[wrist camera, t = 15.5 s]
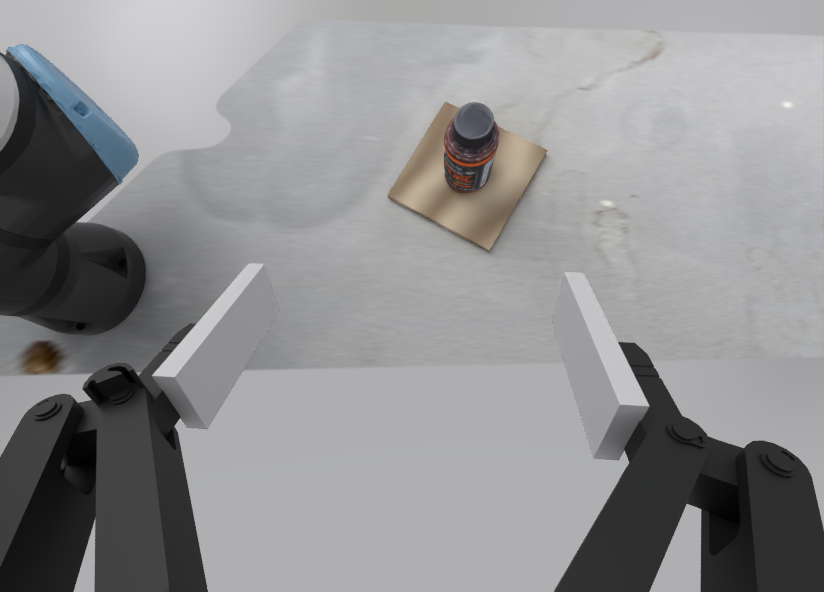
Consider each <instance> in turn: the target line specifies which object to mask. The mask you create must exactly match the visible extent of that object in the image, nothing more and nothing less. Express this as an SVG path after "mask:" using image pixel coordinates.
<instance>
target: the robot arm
mask: <svg viewBox="0 0 824 592" xmlns="http://www.w3.org/2000/svg"><path fill="white" fill-rule="evenodd" d="M6 52H7V53H6V55H4V54H2V53H0V315H5V316H17V317H20V318H23V319H25V320H28V321H31V322H33V323H36V324H38V325H41V326H44V327H46V328H49V329H52V330H54V331H57V332H61V333H66V334H80V335H92V334H98V333H101V332H104V331H107V330H109V329H111V328H113V327H115V326H116V325H118V324H119V323H120V322H121V321H123V320H124V319H125V318H126V317H127V316H128V315H129V314H130V312H131V311H132V310H133V308H134V307H135V305H136V304H137V302H138V300H139V298H140V295H141V292H142V289H143V285H144V279H145V267H144V261H143V258H142V255H141V252H140V250H139V248H138V247H137V245H136V244H135V243H134V241H133V240H132V239H131V238H130V237H128V236H127V235H126V234H124V233H122V232H120V231H118V230H115V229H112V228H110V227H107V226H104V225H100V224H95V223H79V222H78V223H77V221H78V220H79V219H80V218H81V217H82V216H83V215H84V214H86V213H87V212H88V211H89V210H90V209H91V208H92V207H94V206H95V205H96V204H97V203H98V202H99V201H100V200H102V199H103V198H104V197H105V196H106V195H107V194H108V193H110V192H111V191H112V190H113V189H114V188H115V187H116V186H118V185H119V184H121V183H122V179H123V178H124V177H125V176H126V175H127V174H128V173H129V172H130V170H131V169H132V168H133V167H134V166H135V165H136V164H137V162H138V157H139V154H138V150H137V148H136V146H135V144H134V143H133V142H132V140H131V139H130V138H129V137H128V136H127V135H126V134H125V132H124V131H123V130H122V129H121V128H120V127H119V126H118V125H117V124H116V123H115V122H114V121H113V120H112V119H111V118H110V117H109V116H108V115H107V114H106V113H105V112H104V111H103V110H102V109H101V108H100V107H99V106H98V105H97V104H96V103H95V102H94V101H93V100H92V99H91V98H90V97H89V96H87V95H86V94H85V93H84V92H83V91H82V90H81V89H80V88H79V87H78V86H77V85H76V84H75V83H73V82H72V81H71V80H70V79H69V78H68V77H67V76H66V75H65V74H64V73H62V72H61V71H60V70H59V69H58V68H57V67H56V66H54V65H53V64H52V63H51V62H50V61H49V60H47V59H46V58H45V57H44V56H43V55H41V54H40V53H39V52H38V51H36V50H34V49H33V48H31V47H29V46H28V45H24V44H19V45H17V46H15V47H8V49H7V50H6ZM279 311H280V310H279V307H278V304H277V301H276V298H275V295H274V292H273V289H272V285H271V282H270V279H269V276H268V273H267V270H266V267H265V264H252V263H248V265H247V266H246V267H245V268H244V269H243V270H242V272H241V273H240V274H239V275H238V276H237V277H236V279H235V280H234V281H233V282H232V283H231V284H230V286H229V287H228V288H227V289H226V290H225V291H224V293H223V294H222V295H221V296H220V297H219V298H218V299H217V301H216V302H215V303H214V304H213V305H212V306H211V308H210V309H209V310H208V311H207V312H206V313H205V315H204V316H203V317H202V318H201V319H200V320H199V322H198V323H197V324H189V325H188V326H186V327H185V328H183V329H182V330H180V331H179V332H178V333H177V334H176V335H175V336H174V337H173V338H172V339H171V340H170V341H169V344H167V345H166V346H165V347H164V348H163V349H162V352H160V353H159V354H158V355H157V356H156V357H155V358H154V359H153V360H152V362H151V363H150V364H149V365H148V366H147V367H146V368H145V369H144V370H143V372H142V373H141V374H140V375H139V376H138V375H137V374H136V372H135V371H134V370H133V368H132V367H131V365H128V364H126V363H118V364H114V365H110V366H107V367H105V368H103V369H101V370H99V371H97V372H96V373H94V374H93V375H92V376H90V377H89V378H88V380H87V381H86V382H85V383H84V386H83V390H84V391H85V392H86V394H87V395H88V396H89V397H90V398H91V399H92V400H91V401H85V402H80V403H77V402H76V400H75V399H74V398H73V397H72V396H71V395H68V394H59V395H55V396H52V397H49V398H46V399H44V400H42V401H40V402H39V403H37V404H36V405H34V406H33V407H32V408H31V409H29V410H28V411H27V413H26V414H25V415H24V417H23V418H22V419H21V421H20V423H19V425H18V427H17V428H16V430H15V432H14V434H13V435H12V437H11V439H10V441H9V442H8V444H7V446H6V448H5V450H4V452H3V453H2V455H1V457H0V592H73V591H74V588H75V584H76V581H77V577H78V574H79V571H80V567H81V564H82V560H83V557H84V554H85V550H86V547H87V544H88V540H89V537H90V534H91V530H92V527H93V523H94V520H95V517H96V529H95V530H96V531H95V534H96V535H95V537H96V538H95V592H208V590H207V585H206V579H205V575H204V569H203V564H202V558H201V553H200V548H199V542H198V537H197V532H196V526H195V521H194V516H193V510H192V505H191V500H190V495H189V489H188V484H187V479H186V473H185V468H184V463H183V459H182V452H181V447H180V442H179V437H178V432H177V430H176V428H175V427H174V426H175V424H176V423H177V422H178V420H179V419H180V418H181V419H182V421H183V422H184V424H185V425H186V427H187V428H199V429H208V427H209V425H210V424H211V422H212V420H213V419H214V417H215V416H216V414H217V412H218V411H219V409H220V407H221V406H222V404H223V403H224V401H225V399H226V398H227V396H228V394H229V393H230V391H231V390H232V388H233V386H234V385H235V383H236V381H237V380H238V378H239V376H240V375H241V373H242V372H243V370H244V368H245V367H246V365H247V363H248V362H249V360H250V359H251V357H252V355H253V354H254V352H255V350H256V349H257V347H258V346H259V344H260V342H261V341H262V339H263V337H264V336H265V334H266V333H267V331H268V329H269V328H270V326H271V324H272V323H273V321H274V319H275V318H276V316H277V315H278V313H279ZM552 325H553V328H554V332H555V335H556V338H557V341H558V345H559V348H560V351H561V354H562V358H563V361H564V364H565V367H566V370H567V374H568V377H569V380H570V384H571V387H572V390H573V393H574V397H575V400H576V403H577V406H578V410H579V413H580V416H581V419H582V423H583V426H584V429H585V432H586V436H587V439H588V442H589V445H590V449H591V452H592V455H593V458H595V459H609V460H619V459H620V457H621V455H622V453H623V452H624V450H625V452H626V455H627V457H628V460H629V465H628V466H627V468H626V469H625V471H624V473H623V474H622V476H621V478H620V480H619V482H618V483H617V485H616V487H615V488H614V490H613V492H612V493H611V495H610V497H609V498H608V500H607V502H606V504H605V505H604V507H603V509H602V510H601V512H600V514H599V515H598V517H597V519H596V521H595V522H594V524H593V526H592V528H591V529H590V531H589V533H588V534H587V536H586V538H585V539H584V541H583V543H582V544H581V546H580V548H579V550H578V551H577V553H576V555H575V556H574V558H573V560H572V562H571V563H570V565H569V567H568V568H567V570H566V572H565V573H564V575H563V577H562V579H561V580H560V582H559V584H558V585H557V587H556V589H555V590H554V592H649V591H650V589H651V586H652V584H653V582H654V579H655V577H656V575H657V572H658V570H659V568H660V565H661V563H662V560H663V558H664V556H665V553H666V551H667V549H668V546H669V544H670V542H671V539H672V537H673V535H674V532H675V530H676V528H677V525H678V523H679V520H680V518H681V516H682V513H683V511H684V509H685V506H686V504H689V505H692V506H695V507H698V508H700V509H702V511H701V513H702V514H701V592H824V530H823V526H822V521H821V516H820V512H819V507H818V503H817V499H816V494H815V490H814V485H813V481H812V477H811V475H810V473H809V471H808V469H807V467H806V466H805V465H804V464H803V463H802V461H801V460H800V459H799V458H798V457H796V456H795V455H793V454H792V453H791V452H789V451H788V450H787V449H784V448H782V447H780V446H778V445H776V444H774V443H770V442H766V441H752V442H751V443H749V444H748V445H746V447H745V448H741V447H738V446H735V445H731V444H728V443H725V442H722V441H719V440H716V439H713V438H710V437H708V436H707V434H706V433H705V432H704V431H703V429H702V428H701V427H700V426H699V425H697V424H696V423H694V422H693V421H691V420H690V419H688V418H685V417H683V416H682V415H681V413H680V412H679V410H678V408H677V406H676V405H675V403H674V401H673V399H672V397H671V395H670V394H669V392H668V390H667V388H666V387H665V385H664V383H663V381H662V380H661V378H659V374H658V372H657V371H656V369H655V368H654V365H653V364H652V362H651V360H650V358H649V356H648V355H647V353H646V352H644V351H643V350H642V349H641V348H640V347H639V346H638V345H637V344H635V343H624V342H618V341H617V339H616V337H615V335H614V333H613V331H612V329H611V327H610V325H609V323H608V321H607V319H606V317H605V315H604V313H603V311H602V309H601V307H600V305H599V303H598V301H597V299H596V297H595V295H594V293H593V291H592V289H591V287H590V285H589V283H588V281H587V278H586V276H585V274H584V273H579V272H564V276H563V280H562V284H561V288H560V292H559V295H558V299H557V303H556V307H555V311H554V315H553V319H552Z"/></svg>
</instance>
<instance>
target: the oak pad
mask: <svg viewBox="0 0 824 592" xmlns="http://www.w3.org/2000/svg"><path fill="white" fill-rule="evenodd" d="M459 109H460V108H458V107H456V106H454V105H451V104H449V103H447V102H445V103H444V105H443V106H442V108H441V109H440V111H439V113H438V114H437V116H436V118H435V119H434V121H433V122H432V124H431V126H430V127H429V129H428V131H427V132H426V134H425V135H424V137H423V139H422V140H421V142H420V144H419V145H418V147H417V148H416V150H415V152H414V153H413V155H412V157H411V158H410V160H409V161H408V163H407V165H406V166H405V168H404V170H403V171H402V173H401V174H400V176H399V178H398V179H397V181H396V182H395V184H394V186H393V187H392V189H391V191H390V192H389V194H388V198H390V199H392V200H393V201H395V202H397V203H399V204H401V205H403V206H405V207H406V208H408V209H410V210H412V211H414V212H416V213H418V214H420V215H421V216H423V217H425V218H427V219H429V220H431V221H433V222H434V223H436V224H438V225H440V226H442V227H444V228H446V229H447V230H449V231H451V232H453V233H455V234H457V235H459V236H460V237H462V238H464V239H466V240H468V241H470V242H472V243H473V244H475V245H477V246H479V247H481V248H483V249H485V250H486V251H488V252H489V250H490V249H491V247H492V245H493V244H494V242H495V240H496V238H497V237H498V235H499V233H500V232H501V230H502V228H503V226H504V225H505V223H506V221H507V220H508V218H509V216H510V214H511V213H512V211H513V209H514V208H515V206H516V204H517V202H518V201H519V199H520V197H521V195H522V194H523V192H524V190H525V189H526V187H527V185H528V183H529V182H530V180H531V178H532V177H533V175H534V173H535V171H536V170H537V168H538V166H539V165H540V163H541V161H542V159H543V158H544V156H545V154H546V152H547V150H546V149H544V148H542V147H540V146H538V145H535V144H533V143H531V142H529V141H527V140H525V139H523V138H521V137H519V136H517V135H514V134H512V133H510V132H508V131H506V130H504V129H502V128H500V127H498V129H499V143H498V147H497V151H496V155H495V158H494V162H493V166H492V170H491V173H490V177H489V179H488V181H487V183H486V184H485V185H484V186H483V187H482V188H481V189H480V190H478V191H476V192H473V193H461V192H457V191H455V190H454V189H452V188H451V187H450V186H449V185H448V183H447V182H446V179H445V176H444V134H445V130H446V127H447V125H448V124H449V122H450V121H451V120H452V119H453V118H454V117H455V114H456V112H457V111H458V110H459Z"/></svg>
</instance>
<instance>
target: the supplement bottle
mask: <svg viewBox="0 0 824 592" xmlns="http://www.w3.org/2000/svg"><path fill="white" fill-rule="evenodd" d="M498 143H499V129H498V126H497V124H496V122H495V121H494V117H493V114H492V112H491V110H490V109H489V108H488V107H487V106H486V105H484V104H481V103H476V102H473V103H468V104H466V105H464V106H462V107H461V108H460V109H459V110H458V111H457V112H456V114H455V117H454V118H453V119H452V120H451V121H450V122H449V124H448V125H447V127H446V130H445V134H444V176H445V179H446V182H447V183H448V185H449V186H450V187H451V188H452V189H454V190H455V191H457V192H461V193H473V192H476V191H478V190H480V189H481V188H482V187H483V186H484V185H485V184H486V183H487V181H488V179H489V177H490V173H491V170H492V166H493V162H494V158H495V155H496V151H497V147H498Z"/></svg>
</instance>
